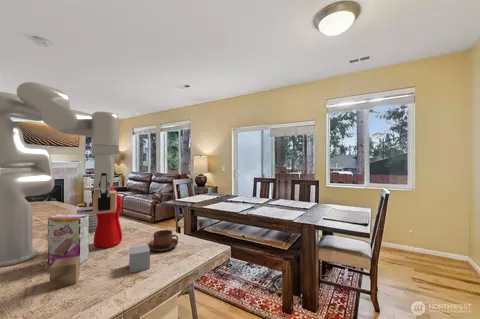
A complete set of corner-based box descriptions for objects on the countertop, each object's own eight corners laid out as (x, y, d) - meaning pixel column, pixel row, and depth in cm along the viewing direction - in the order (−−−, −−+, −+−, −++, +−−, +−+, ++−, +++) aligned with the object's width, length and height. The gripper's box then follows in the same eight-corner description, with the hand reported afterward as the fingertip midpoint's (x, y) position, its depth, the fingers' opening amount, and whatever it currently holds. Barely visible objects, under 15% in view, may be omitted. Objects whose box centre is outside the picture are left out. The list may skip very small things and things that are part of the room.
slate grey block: (129, 273, 71) (129, 254, 71) (129, 265, 76) (129, 247, 76) (149, 269, 73) (149, 251, 73) (148, 261, 79) (148, 244, 79)
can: (83, 235, 105) (83, 210, 105) (72, 231, 111) (72, 207, 111) (108, 229, 114) (108, 206, 114) (96, 225, 120) (96, 203, 120)
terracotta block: (92, 214, 66) (92, 194, 66) (95, 210, 71) (95, 191, 71) (115, 212, 69) (115, 192, 69) (116, 208, 74) (116, 190, 74)
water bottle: (112, 249, 88) (113, 187, 88) (89, 247, 91) (90, 186, 91) (128, 241, 97) (129, 185, 97) (107, 239, 100) (107, 184, 100)
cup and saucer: (176, 240, 99) (176, 227, 99) (179, 251, 88) (179, 235, 88) (147, 244, 95) (147, 230, 95) (146, 255, 84) (146, 239, 84)
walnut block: (49, 290, 61) (49, 268, 61) (55, 279, 67) (55, 259, 67) (76, 284, 64) (76, 263, 64) (79, 274, 69) (79, 255, 69)
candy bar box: (46, 265, 75) (46, 217, 75) (58, 259, 80) (58, 214, 80) (79, 265, 75) (80, 217, 75) (89, 258, 80) (89, 213, 80)
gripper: (94, 152, 76) (94, 204, 76) (87, 150, 61) (86, 215, 61) (119, 152, 79) (119, 202, 79) (118, 151, 64) (117, 212, 64)
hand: (105, 207), depth 70 cm, fingers closed on terracotta block, 6 cm apart
